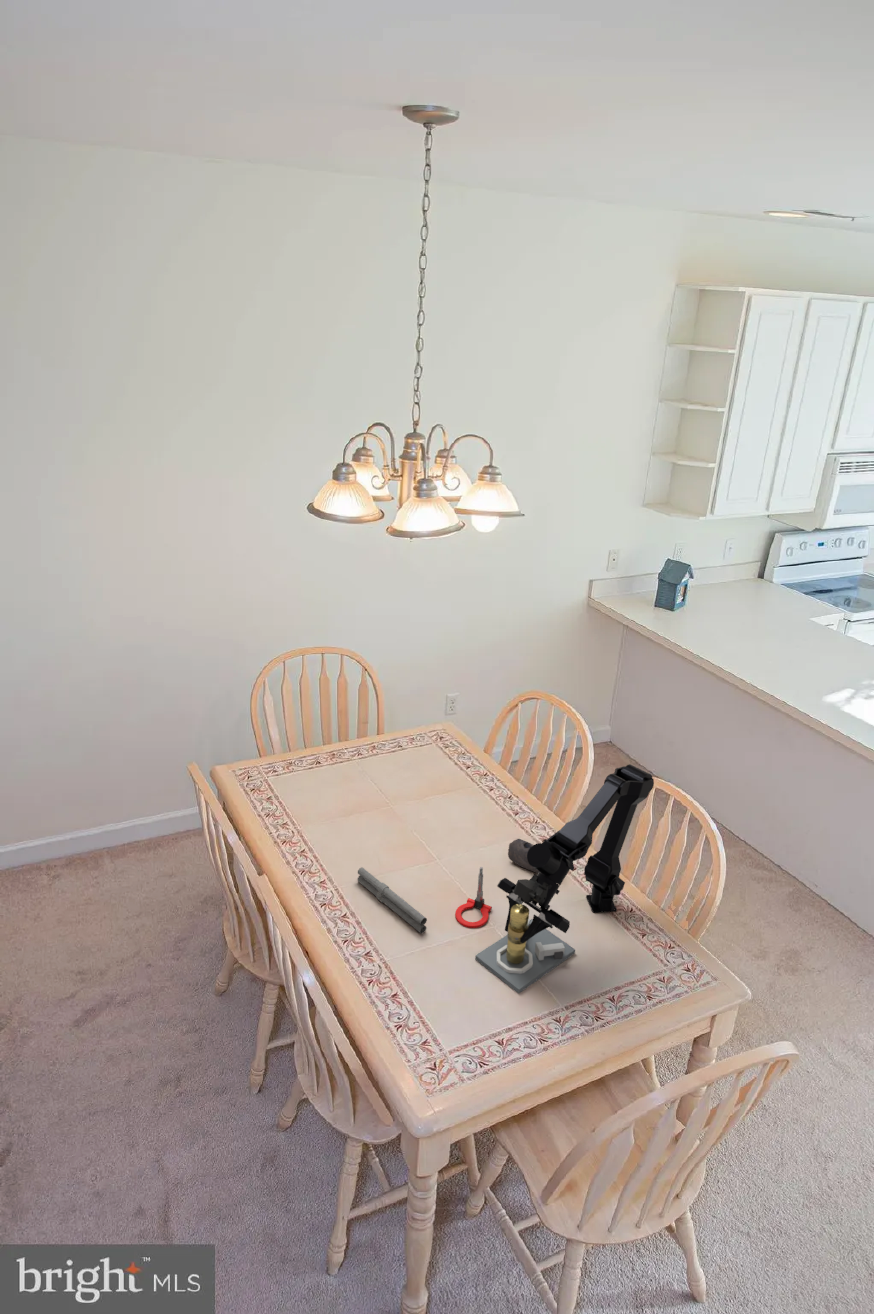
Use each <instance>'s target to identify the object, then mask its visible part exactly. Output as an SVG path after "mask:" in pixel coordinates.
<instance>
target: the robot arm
mask: <svg viewBox="0 0 874 1314" xmlns="http://www.w3.org/2000/svg"><path fill="white" fill-rule="evenodd" d="M654 784H655V781H654V778H653V775H652V774H651V773H649V772H647V771H645V770H642V769H641V768H639V767H636V766H635V765H634V764H630V763H629V764H627V765H625V766H620V767H616V768H615V770H614V772H613V773H610V774H608V775H607V776H606V777H605V779H604V783H603V785H602V786H601V788H600V789H599V790H598V791H597V792H596V794H595V795H594V796H593V798H592V799H591V800H590V801H589V803H588V804H587V806H585V808H584V809H583V810H582V812H581V813H579V814H580V815H578V817H577V818H575V819H572V820H570V821H568V822H566V823H565V824H563V826H562V827H561V828H560V829H559V830H558V831H556V832H555V833H553V834H552V835H551V836H550V837H548V838H546V839H544V840H543V842H542V843H541V842H540V843H539V842H538V843H535V844H533V846H532V847H530V849H529V850H528V853H527V860H528V862H529V864H530V865H531V866H532V867H534V868H535V869H537V870H538V871H539V873H535V874H533V875H532V876H531V878H530V879H528V878H527V879H526V878H525V879H517V882H516V884H515V883H514V882H513V881H511V880H509V879H508V878H507V877H504V878H502V879H500V880H499V882H498V884H497V885H496V887H497V888H499V889H501V890H502V891H503V892H505V893H507V894H508V895H506V899H508V904H509V905H508V906H509V907H508V914H507V918H506V922H505V927H504V931H505V932H507V930H508V925H509V923H510V914H511V907H512V906H513V905H516V904H522V905H523V903H524V904H526V906H527V905H528V906H529V908H531V909H533V910H535V911H536V912H537V913H538V914H539V915H538V916H537V915H536V914H533V917H532V919H533V921H532V923H531V924H530V926H529V927H528V929H527V930H526V932H525V933H524V935H523V936H522V938H521V940H520V942H521V943H524V942H526V941H527V940H528V939H530V938H531V937H533V936H534V935H536V934H537V933H539V932H541V931H542V930H544V929H548V928H550V929H553V928H554V927H555V928H556V929H557V930H560V931H561V932H563V933H564V934H567V932H568V931H569V929H570V925H571V924H570V923H571V922H570V921H569V920H568V919H567V918H566V917H564V916H563V915H561V914H560V913H558V912H556V911H555V910H553V909H552V908H550V907H551V905H549V904H550V903H551V901H552V899H553V897H555V894H556V895H558V894H560V890H559V888H560V886H561V885H562V883H563V882H564V880H565V878H566V876H567V875H568V873H569V872H570V871H574V870H575V865H574V862H575V861H577V860H581V859H582V858H584V857H586V855H587V854H588V851H589V848H590V847H591V845H592V844H593V834H594V832H595V831H596V829H597V828H598V827H599V825H601V823H602V822H603V820H605V818H606V816H607V815H608V814H609V812H610V811H611V810H612V809H613V807H614V810H613V812H612V816H611V818H610V820H609V823H608V826H607V829H606V832H605V834H604V838H603V841H602V843H601V845H600V846H601V847H600V849H599V851H597V852H596V853H594V854H593V855H589V856H588V859H587V862H586V864H585V866H584V870H583V871H584V873H583V874H584V877H585V878H584V879H585V881H586V882H589V883H590V884H591V885H592V888H591V893H590V894H586V895H585V898H586V900H587V902H588V905H589V907H590V909H591V912H592V913H594V914H596V913H597V914H599V913H614V912H617V911H618V908H617V906H616V905H615V902H614V898H615V896H620V895H621V892H622V891H623V889H624V886H625V884H626V882H625V881H624V880H623V879H622V878H620V874H621V870H622V867H621V862H620V853H621V850H622V848H623V845H624V842H625V840H626V837H627V835H628V831H629V829H630V826H631V823H632V820H633V818H634V816H635V813H636V810H637V807H638V805H639V804H640V803H642V802H644V800H646V799H647V798H648V796H649V795H650V792H651V791H652V790H653V788H654ZM540 872H541V873H540Z"/></svg>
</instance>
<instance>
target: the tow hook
mask: <svg viewBox="0 0 874 1314" xmlns="http://www.w3.org/2000/svg"><path fill="white" fill-rule="evenodd" d="M483 869H484V868H483V866H479V873H478V875H477V876H478V879H477V881H478V882H477V891H476V897H475V899H472V898H470V897H468V898H467V900H466V902H465V903H463V904H460V905H459V906H458V907H457V908H456V909H455V914H454V916H455V917H454V918H455V920H456V922H457V923H458V925H459V924H460V925H461V926H463V927H465V928H468V929H478V928H481V927H483V926H485V925H486V924H487V923H488V921H489V913H490V912H492V910H493V907H492V906H491V905H488V904H485V898H484V893H483V892H484V891H483V885H484V873H483ZM473 908H477V909H480V914H481V915H482V917H481V918H480V919H479V920H477V921H468V920H466V919H464V918H463V916H462V914H463V912H465V911H467V910H470V909H471V910H472V909H473Z"/></svg>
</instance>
